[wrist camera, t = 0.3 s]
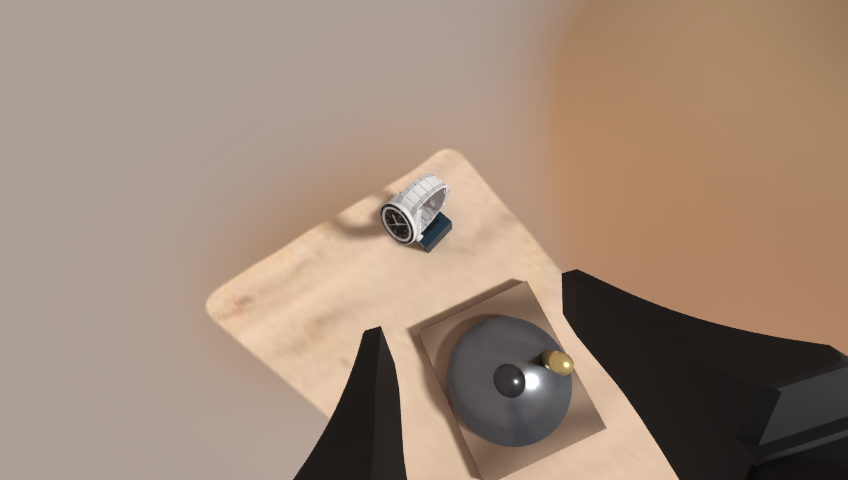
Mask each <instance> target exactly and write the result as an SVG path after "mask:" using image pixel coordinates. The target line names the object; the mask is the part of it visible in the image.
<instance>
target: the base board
mask: <svg viewBox="0 0 848 480" xmlns="http://www.w3.org/2000/svg"><path fill="white" fill-rule="evenodd" d="M498 317H513V318H519V319H522V320H526V321H528V322H531V323H533V324H535V325H537V326H538V327H540V328H541V329H543V330H544V331H545V332H547V333H548V334H549V335H550V336H551V337H552V338H553V339H554V340H555V341H556V343H557V344H558V345H559V347H560V348H561V350H562V351H563V353H565V354H566V352H565V351H564V349H563V347H562V345H561V343H560V341H559V340H558V338H557V336H556V334H555V332H554V330H553V328H552V327H551V325H550V323H549V321H548V319H547V317H546V315H545V314H544V312H543V310H542V308H541V306H540V304H539V303H538V301H537V299H536V297H535V295H534V293H533V291H532V290H531V288H530V286H529V284H528V282H527V281H525V282H523V283H520V284H518V285H516V286H514V287H512V288H510V289H508V290H506V291H504V292H502V293H499V294H497V295H495V296H493V297H491V298H489V299H487V300H485V301H483V302H480V303H478V304H476V305H474V306H472V307H470V308H468V309H466V310H464V311H462V312H459V313H457V314H455V315H453V316H451V317H449V318H447V319H445V320H443V321H440V322H438V323H436V324H434V325H432V326H430V327H428V328H426V329H424V330H421V331H419V332H418V334H419V336H420V338H421V341H422V343H423V345H424V347H425V350H426V352H427V354H428V357H429V359H430V361H431V363H432V366H433V368H434V370H435V373H436V375H437V377H438V380H439V382H440V384H441V386H442V389H443V391H444V393H445V396H446V398H447V400H448V402H449V405H450V407H451V409H452V412H453V414H454V416H455V418H456V421H457V423H458V425H459V428H460V430H461V432H462V434H463V437H464V439H465V441H466V444H467V446H468V448H469V450H470V453H471V455H472V457H473V460H474V462H475V464H476V467H477V469H478V471H479V473H480V476H481V478H482V480H499V479H501V478H503V477H505V476H507V475H509V474H511V473H514V472H516V471H518V470H520V469H522V468H524V467H526V466H528V465H530V464H532V463H534V462H537V461H539V460H541V459H543V458H545V457H547V456H549V455H551V454H553V453H555V452H558V451H560V450H562V449H564V448H566V447H568V446H570V445H572V444H574V443H576V442H578V441H581V440H583V439H585V438H587V437H589V436H591V435H593V434H595V433H597V432H599V431H601V430H604V429H606V426H605V424H604V423H603V421H602V419H601V417H600V415H599V413H598V412H597V410H596V408H595V406H594V404H593V402H592V400H591V399H590V397H589V395H588V393H587V391H586V389H585V388H584V386H583V384H582V382H581V380H580V378H579V376H578V375H577V373H576V371H575V369H574V368H573V371H572V372H571V378H572V396H571V401H570V405H569V408H568V411H567V413H566V415H565V417H564V419H563V420H562V422H561V423H560V425H559V426H558V427H557V428H556V429H555V430H554V431H553V432H552V433H551V434H550V435H549V436H547V437H546V438H544V439H543V440H541V441H539V442H537V443H534V444H532V445H527V446H523V447H506V446H501V445H497V444H494V443H491V442H489V441H487V440H485V439H483V438H481V437H480V436H478V435H477V434H475V433H474V432H473V431H472V430H471V429H469V428H468V427H467V425H466V424H465V423H464V422H463V421H462V419H461V418H460V416H459V415H458V414H457V412H456V410H455V408H454V406H453V403H452V400H451V398H450V394H449V389H448V366H449V362H450V358H451V355H452V352H453V350H454V348H455V346H456V344H457V343H458V341H459V340H460V338H461V337H462V336H463V335H464V334H465V333H466V332H467V331H468V330H469V329H471V328H472V327H473V326H475V325H477V324H478V323H480V322H483V321H485V320H488V319H492V318H498Z"/></svg>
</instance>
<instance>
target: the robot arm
mask: <svg viewBox="0 0 848 480" xmlns="http://www.w3.org/2000/svg"><path fill="white" fill-rule="evenodd" d="M562 301H563V315H564V316H565V318H566V320H567V321H568V323H569V325H570V326H571V328H572V329H573V331H574V332H575V334H576V335H577V337H578V338H579V339H580V340H581V342H582V343H583V344H584V345H585V347H586V348H587V349H588V350H589V351H590V353H591V354H592V355H593V356H594V357H595V359H596V360H597V361H598V362H599V363H600V365H601V366H602V367H603V368H604V369H605V371H606V372H607V373H608V374H609V375H610V377H611V378H612V379H613V380H614V381H615V383H616V384H617V385H618V387H619V388H620V389H621V390H622V392H623V393H624V394H625V396H626V397H627V399H628V400H629V402H630V403H631V405H632V406H633V408H634V409H635V411H636V412H637V413H638V415H639V416H640V418H641V419H642V421H643V422H644V424H645V426H646V427H647V429H648V430H649V432H650V433H651V435H652V436H653V438H654V439H655V441H656V443H657V444H658V446H659V447H660V449H661V451H662V452H663V454H664V455H665V457H666V459H667V460H668V462H669V464H670V465H671V467H672V468H673V470H674V472H675V473H676V475H677V477H678V478H679V480H848V356H846V355H845V354H843V353H841V352H840V351H838V350H836V349H834V348H833V347H831V346H830V345H824V344H817V343H811V342H804V341H798V340H791V339H784V338H779V337H774V336H769V335H763V334H759V333H753V332H749V331H745V330H740V329H736V328H731V327H728V326H723V325H720V324H716V323H712V322H708V321H705V320H701V319H698V318H695V317H692V316H688V315H685V314H682V313H679V312H676V311H673V310H670V309H667V308H665V307H662V306H659V305H657V304H654V303H652V302H649V301H646V300H644V299H642V298H639V297H637V296H634V295H632V294H630V293H627V292H625V291H623V290H621V289H619V288H616V287H614V286H612V285H610V284H608V283H606V282H603V281H601V280H599V279H597V278H595V277H593V276H591V275H589V274H586V273H584V272H582V271H580V270H577V269H576V270H572V271H569V272H566V273H562ZM293 480H407V476H406V469H405V463H404V454H403V441H402V425H401V409H400V395H399V386H398V380H397V374H396V369H395V363H394V361H393V358H392V355H391V353H390V350H389V347H388V344H387V342H386V339H385V336H384V334H383V331H382V328H381V326H379V327H376V328H373V329H369V330H366V331H364V333H363V336H362V340H361V343H360V347H359V350H358V354H357V357H356V360H355V363H354V365H353V368H352V371H351V374H350V376H349V379H348V382H347V384H346V386H345V389H344V391H343V393H342V396H341V398H340V400H339V403H338V405H337V407H336V409H335V411H334V413H333V415H332V417H331V419H330V421H329V423H328V425H327V427H326V428H325V430H324V432H323V434H322V435H321V437H320V439H319V441H318V442H317V444H316V446H315V447H314V449H313V451H312V452H311V454H310V455H309V457H308V459H307V460H306V462H305V463H304V465H303V466H302V467H301V469H300V470H299V472H298V473H297V475H296V476H295V478H294V479H293Z"/></svg>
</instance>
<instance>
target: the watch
mask: <svg viewBox="0 0 848 480" xmlns="http://www.w3.org/2000/svg"><path fill="white" fill-rule="evenodd" d="M448 194H449V189H448V186H447V185H446V184H445V183H444V182H442V181H441V180H440V179H439V178H438V177H436V176H435V175H434V174H426V175H423V176H421V177H419V178H418V179H416V180H415V181H414V182H413V183H411V184H410V185H409V186H408V187H407V188H406V189H405V190H404V191H403V192H402V193H401V192H399V193H397V194H396V195H395V196H394V197H393V198H392V199H391V200H389V201H388V202H386V203H385V204H383V205H382V207H381V210H380V217H381V221H382V223H383V225H384V227H385V229H386V230H387V232H388V233H389V234H390V235H391V237H392V238H394V239H395V240H396V241H398V242H399V243H402V244H406V245H407V244H410V243H412V242H413V241H414V240H415V241H416V242H417V243H418V244H419V245H421V246H422V247H423V248H424V249H425V250H426V251H427V252H428V253H429V252H430V251H431V250H432V249H433V248H434V247H435V246H436V245H437V244H438V243H439V242H440V241H441V240H442V238H443V237H444V236H445V235H446V234H447V233H448V232H449V231H450V230H451V229H452V222H451V221H450V220H449V219H448V218H447V217H446V216H445V215H443V214H442V213H441V212H440V211H441V210H442V208H443V207H444V206H445V202H446V200H447V197H448Z"/></svg>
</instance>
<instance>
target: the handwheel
mask: <svg viewBox="0 0 848 480" xmlns="http://www.w3.org/2000/svg"><path fill="white" fill-rule="evenodd" d="M573 368H574V362H573V360H572V358H571V357H570V356H569V355H567V354H565V353H563V351H562V350H561V348H560V347H559V345H558V344H557V343H556V341H555V340H554V339H553V338H552V337H551V336H550V335H549V334H548V333H547V332H545V331H544V330H543V329H541V328H540V327H538V326H537V325H535V324H533V323H531V322H528V321H526V320H522V319H519V318H513V317H498V318H492V319H488V320H485V321H483V322H480V323H478V324H477V325H475V326H473V327H472V328H471V329H469V330H468V331H467V332H466V333H465V334H464V335H463V336H462V337H461V338H460V340H459V341H458V343H457V344H456V346H455V348H454V350H453V352H452V355H451V358H450V362H449V366H448V389H449V394H450V398H451V400H452V403H453V406H454V408H455V410H456V412H457V414H458V415H459V416H460V418H461V419H462V421H463V422H464V423H465V424H466V425H467V427H468V428H469V429H471V430H472V431H473V432H474V433H475V434H477V435H478V436H480V437H481V438H483V439H485V440H487V441H489V442H491V443H494V444H497V445H501V446H506V447H523V446H527V445H532V444H534V443H537V442H539V441H541V440H543V439H544V438H546V437H547V436H549V435H550V434H551V433H552V432H553V431H554V430H555V429H556V428H557V427H558V426H559V425H560V423H561V422H562V420H563V419H564V417H565V415H566V413H567V411H568V408H569V405H570V401H571V396H572V378H571V372H572V371H573Z"/></svg>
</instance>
